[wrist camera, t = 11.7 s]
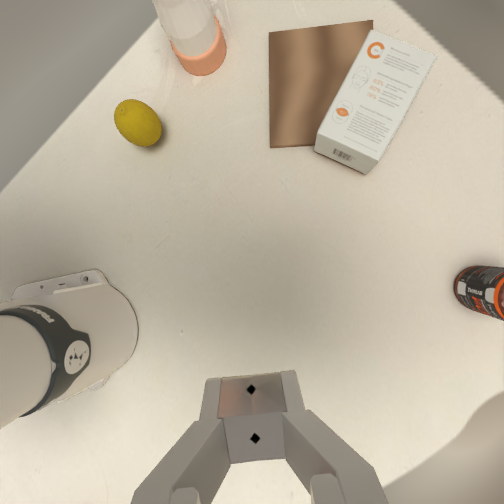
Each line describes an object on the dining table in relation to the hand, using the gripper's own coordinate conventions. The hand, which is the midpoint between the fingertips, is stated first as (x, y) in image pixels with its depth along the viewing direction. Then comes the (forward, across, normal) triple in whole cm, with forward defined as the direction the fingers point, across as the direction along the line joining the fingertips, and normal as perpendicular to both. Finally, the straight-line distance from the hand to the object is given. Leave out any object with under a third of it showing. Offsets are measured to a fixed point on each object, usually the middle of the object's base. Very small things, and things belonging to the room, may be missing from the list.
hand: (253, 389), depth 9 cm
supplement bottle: (+25, -29, +12) cm, 40 cm away
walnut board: (+37, -12, -16) cm, 42 cm away
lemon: (+39, +13, -12) cm, 43 cm away
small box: (+29, -13, -6) cm, 33 cm away
